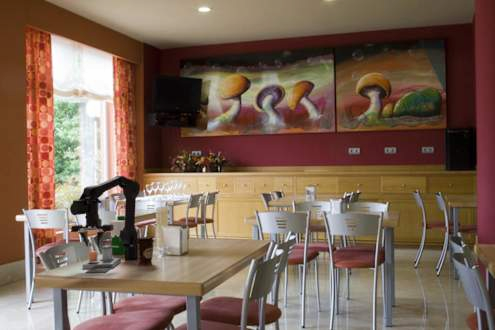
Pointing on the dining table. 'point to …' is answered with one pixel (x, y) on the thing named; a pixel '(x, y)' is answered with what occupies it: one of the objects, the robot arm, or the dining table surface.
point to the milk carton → (117, 235)
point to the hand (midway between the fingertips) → (92, 246)
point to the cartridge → (107, 253)
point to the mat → (98, 270)
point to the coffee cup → (145, 250)
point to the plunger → (92, 256)
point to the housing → (102, 263)
